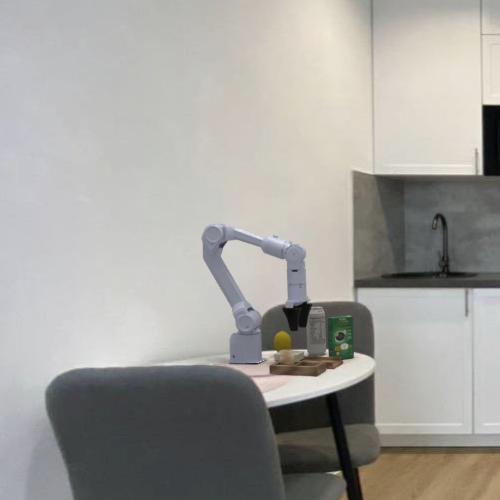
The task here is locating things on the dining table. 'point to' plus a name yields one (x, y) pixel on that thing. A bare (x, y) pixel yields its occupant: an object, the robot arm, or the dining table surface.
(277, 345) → the lemon
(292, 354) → the oak peg
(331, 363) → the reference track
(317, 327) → the energy drink can
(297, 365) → the socket board
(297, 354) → the lid
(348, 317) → the coffee box
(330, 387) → the dining table surface
